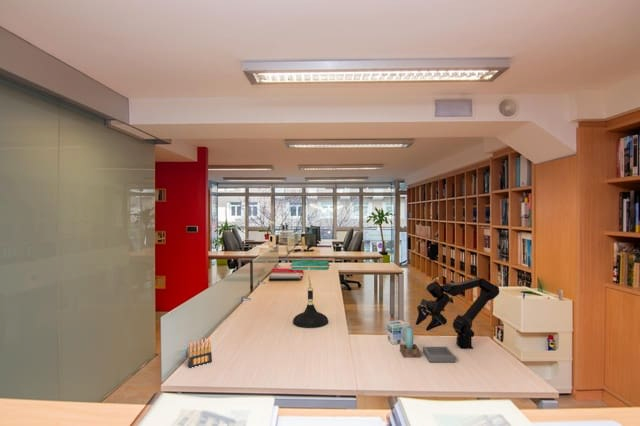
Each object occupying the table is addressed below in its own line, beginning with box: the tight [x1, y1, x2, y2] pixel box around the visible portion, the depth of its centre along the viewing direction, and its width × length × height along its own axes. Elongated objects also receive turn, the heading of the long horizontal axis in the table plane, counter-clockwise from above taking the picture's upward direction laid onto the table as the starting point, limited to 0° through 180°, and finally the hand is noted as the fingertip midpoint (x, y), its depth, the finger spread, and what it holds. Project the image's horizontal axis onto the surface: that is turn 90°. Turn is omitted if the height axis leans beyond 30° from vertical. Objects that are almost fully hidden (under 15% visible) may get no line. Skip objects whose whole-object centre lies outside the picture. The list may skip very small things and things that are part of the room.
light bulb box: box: [387, 319, 411, 345], centre depth 192 cm, size 11×7×11 cm, turn 105°
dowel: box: [405, 326, 414, 349], centre depth 175 cm, size 4×4×13 cm
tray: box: [422, 346, 456, 364], centre depth 170 cm, size 12×12×3 cm
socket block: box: [399, 343, 421, 358], centre depth 175 cm, size 8×8×4 cm
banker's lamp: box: [289, 259, 331, 329], centre depth 227 cm, size 26×23×40 cm
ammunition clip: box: [187, 337, 213, 369], centre depth 165 cm, size 11×2×12 cm, turn 127°
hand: (421, 327), depth 177 cm, fingers open, 9 cm apart
